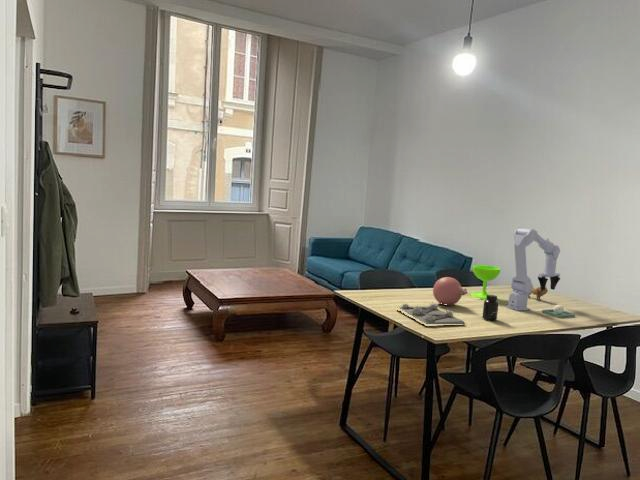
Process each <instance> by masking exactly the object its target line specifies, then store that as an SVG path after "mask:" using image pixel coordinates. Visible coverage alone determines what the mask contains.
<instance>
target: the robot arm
mask: <svg viewBox="0 0 640 480" xmlns="http://www.w3.org/2000/svg"><path fill="white" fill-rule="evenodd" d="M513 241H514V260H515V276H513V277H512V278H511V281H512V282H511V284H510V285H511V289H512V292H511V293H509V296H508V303H507V304H508V305H507V306H506V308H508V309H511V310H514V311H529V310H531V308H528V299H529V298H528V294H530V292H531V291H532V289H533V288H534V287H533V284H532V280H531V277H529V275H528V272H527V271H528V270H527V256H526V255H527V254H526V253H527V252H526V251H527V250H526V247H528V246H530V245H531V244H532V243H533V242H536V243H537V245H538V247H539V248H540V249H541V250H543V252H544V254H545V260H544V261H545V262H544V269H543V270H544V271H543V272H541V273H538V275H537V280H538V282H539V287H541V290H545V287H546V288H547V282H548V280H550V290H555V289H556V287H557V285H558V283H559V281H560V280H561V273H559V272H556V270H557V269H556V268H557V259H558V258H559V255H560V253H561V249H560V247H559V245H556V244H554V242H552V241H550V239H549V238H546V237H545V238H544V237H542V236H541V235H540V234H539V233H538V231H537V230H536V229H534V228H533V229H531V228H523V227H518V228H516V229H515V231H514V233H513ZM548 278H549V279H548ZM530 295H531V294H530Z"/></svg>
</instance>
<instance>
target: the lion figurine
mask: <svg viewBox="0 0 640 480" xmlns="http://www.w3.org/2000/svg"><path fill="white" fill-rule="evenodd" d="M548 292H549V290H548V287H547V286H546V287H545V290H541V287H540V286H539V287H537V288H534V287H533V289H532V291H531V292H530V294H528V299H531V295H534V296H536V301H538V302H539V301H541V300H542V299H541V297H543V296H544V295H546V294H547V293H548Z"/></svg>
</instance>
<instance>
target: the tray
mask: <svg viewBox="0 0 640 480" xmlns="http://www.w3.org/2000/svg"><path fill="white" fill-rule="evenodd" d="M541 311H542V312H541V313H542V314H545V315H549V316H552V317H555V318H557V319H565V318H567V319H568V318H575V317H576V314H575V313H572V312H569V311H566V310H564V312H563V313H562V314H556V313H555V312H554V308H551V309H549V308H548V309H542V310H541Z"/></svg>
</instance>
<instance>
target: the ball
mask: <svg viewBox="0 0 640 480" xmlns="http://www.w3.org/2000/svg"><path fill="white" fill-rule="evenodd" d="M553 309H554V312H555V313H556V314H562V313H563V312H564V311H565V308H564V306H563V305H561V304H556V305H555V306H553Z"/></svg>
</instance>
